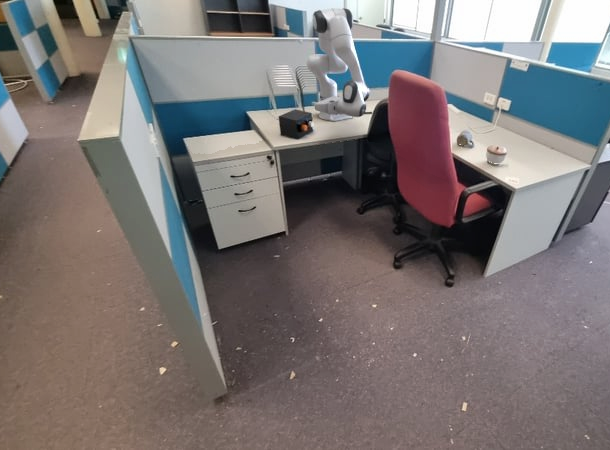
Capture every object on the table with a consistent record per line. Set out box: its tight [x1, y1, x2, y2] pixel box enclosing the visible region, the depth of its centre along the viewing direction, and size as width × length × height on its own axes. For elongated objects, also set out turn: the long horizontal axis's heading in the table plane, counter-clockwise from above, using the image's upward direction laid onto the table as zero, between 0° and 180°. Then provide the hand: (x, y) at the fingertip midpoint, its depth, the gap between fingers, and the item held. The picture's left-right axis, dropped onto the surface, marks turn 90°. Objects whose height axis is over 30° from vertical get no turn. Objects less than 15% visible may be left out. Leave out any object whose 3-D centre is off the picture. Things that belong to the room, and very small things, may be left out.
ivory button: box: [308, 121, 315, 128], centre depth 197 cm, size 3×2×3 cm, turn 157°
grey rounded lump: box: [456, 130, 475, 148], centre depth 200 cm, size 11×8×8 cm
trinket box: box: [485, 145, 508, 166], centre depth 181 cm, size 11×11×9 cm
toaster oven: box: [277, 109, 314, 140], centre depth 197 cm, size 18×13×11 cm
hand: (317, 101), depth 187 cm, fingers open, 8 cm apart
